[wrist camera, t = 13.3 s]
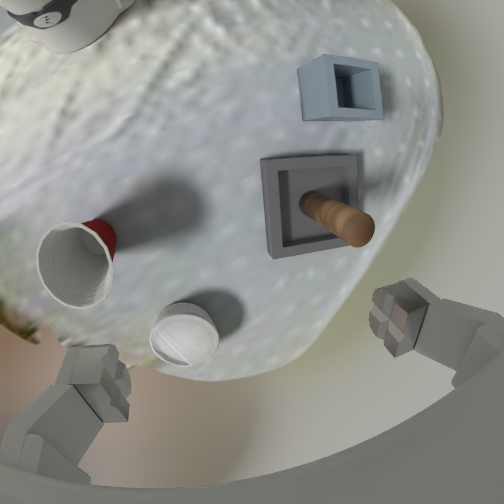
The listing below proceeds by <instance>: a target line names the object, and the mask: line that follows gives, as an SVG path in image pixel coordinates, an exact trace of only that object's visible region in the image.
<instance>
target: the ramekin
mask: <svg viewBox="0 0 504 504" xmlns="http://www.w3.org/2000/svg"><path fill="white" fill-rule="evenodd" d="M150 345H151V347H152V349H153V351H154V352H155V354H156V355H157V356H158V357H159V358H161V359H162V360H164V361H166V362H167V363H170V364H173V365H177V366H194V365H198V364H201V363H203V362H205V361H207V360H208V359H210V358H211V357H212V356H213V355H214V354H215V352H216V351H217V349H218V346H219V333H218V330H217V328H216V326H215V325H214V324H213V322H212V320H211V318H210V317H209V315H208V314H207V312H206V311H205V310H204V309H202V308H201V307H199V306H197V305H195V304H191V303H175V304H172V305H170V306H168V307H166V308H165V309H164V310H163V311H162V312H161V313H160V314H159V316H158V318H157V320H156V322H155V323H154V325H153V326H152V328H151V331H150Z"/></svg>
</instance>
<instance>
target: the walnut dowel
mask: <svg viewBox="0 0 504 504" xmlns="http://www.w3.org/2000/svg"><path fill="white" fill-rule="evenodd" d="M299 208H300V210H301V212H302V213H303V214H304V215H306V216H308V217H309V218H311V219H312V220H314V221H315V222H317V223H318V224H320V225H321V226H323V227H324V228H326V229H327V230H329V231H331V232H332V233H333V234H335V235H336V236H338V237H339V238H341V239H342V240H344V241H345V242H347V243H348V244H350V245H351V246H353V247H362V246H364V245H366V244H367V243H368V242H369V241H370V240H371V238H372V236H373V234H374V230H375V225H374V221H373V219H372V217H371V216H370V215H368V214H366V213H364V212H362V211H360V210H357V209H355V208H353V207H351V206H348V205H346V204H344V203H342V202H339V201H337V200H335V199H332V198H330V197H328V196H325V195H323V194H320V193H318V192H316V191H308V192H306V193H304V194H303V195H302V196H301V198H300V201H299Z"/></svg>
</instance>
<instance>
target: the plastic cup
mask: <svg viewBox="0 0 504 504" xmlns="http://www.w3.org/2000/svg"><path fill="white" fill-rule="evenodd" d="M115 246H116V236H115V233H114V230H113V228H112V227H111V226H110V225H109V224H108V223H106V222H105V221H102V220H92V221H88V222H84V223H73V222H62V223H59V224H57V225H54V226H51V227H50V228H49V229H48V231H47V232H46V233H45V234H44V235H43V236H42V237H41V239H40V242H39V246H38V249H37V252H36V260H37V271H38V273H39V276H40V279H41V281H42V284H43V286H44V287H45V288H46V290H47V291H48V292H49V293H50V294H51V296H52V297H53V298H54V299H56V300H57V301H59V302H60V303H62V304H63V305H65V306H67V307H71V308H76V309H81V310H82V309H86V308H91V307H95V306H96V305H98V304H99V303H100V302H101V301H102V300H104V299H105V298H106V297H107V295H108V292H109V290H110V288H111V286H112V283H113V257H114V252H115Z"/></svg>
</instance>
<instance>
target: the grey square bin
mask: <svg viewBox="0 0 504 504" xmlns="http://www.w3.org/2000/svg"><path fill="white" fill-rule="evenodd" d="M297 73H298V81H299V91H300V100H301V110H302V121H365V120H384V119H383V107H382V96H381V87H380V79H379V72H378V65H377V63H375V62H370V61H365V60H360V59H354V58H348V57H342V56H334V55H326V54H323V55H321V56H319V57H318V58H316V59H314V60H312V61H311V62H309V63H307V64H306V65H304V66H302V67H301V68H299V69H297Z"/></svg>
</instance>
